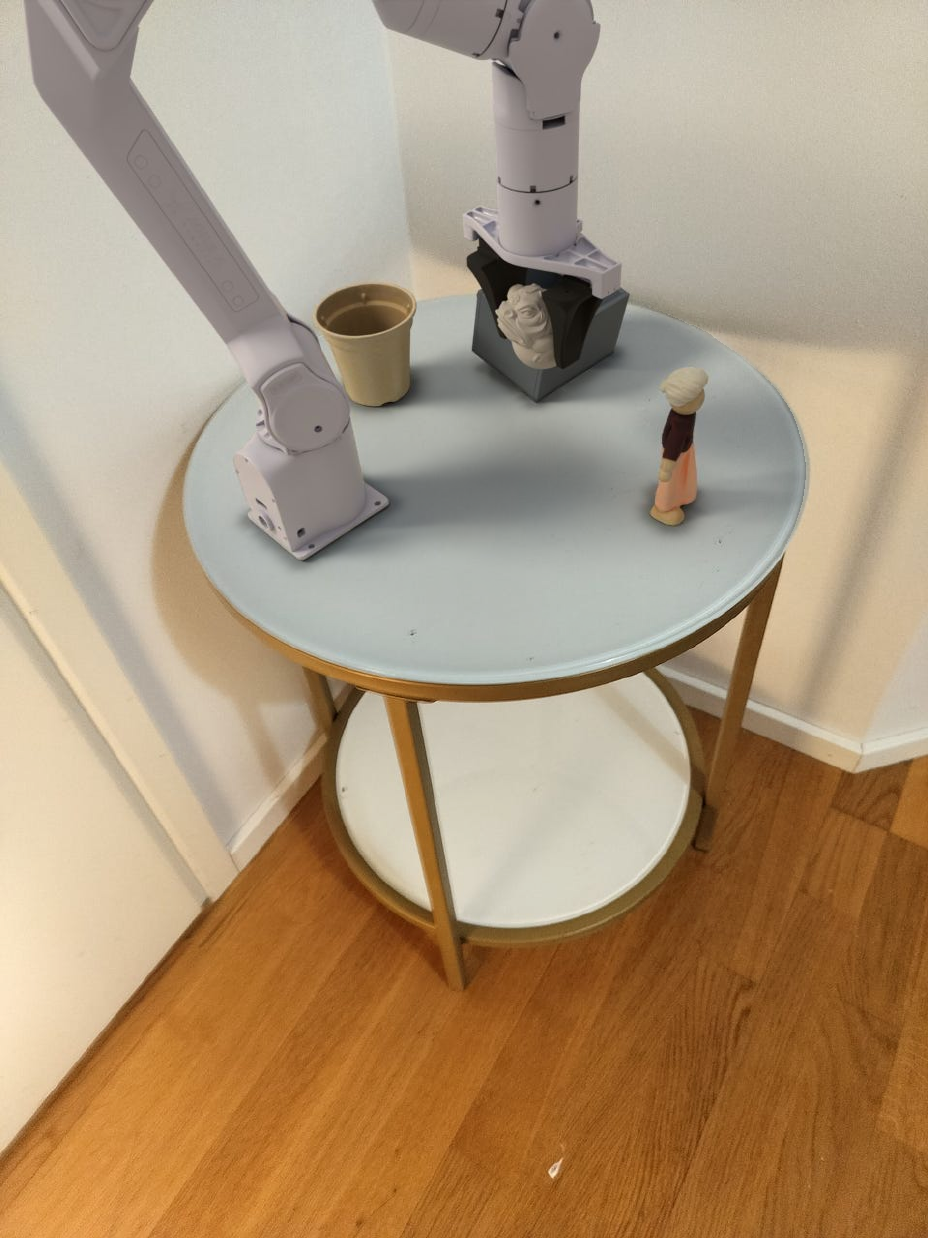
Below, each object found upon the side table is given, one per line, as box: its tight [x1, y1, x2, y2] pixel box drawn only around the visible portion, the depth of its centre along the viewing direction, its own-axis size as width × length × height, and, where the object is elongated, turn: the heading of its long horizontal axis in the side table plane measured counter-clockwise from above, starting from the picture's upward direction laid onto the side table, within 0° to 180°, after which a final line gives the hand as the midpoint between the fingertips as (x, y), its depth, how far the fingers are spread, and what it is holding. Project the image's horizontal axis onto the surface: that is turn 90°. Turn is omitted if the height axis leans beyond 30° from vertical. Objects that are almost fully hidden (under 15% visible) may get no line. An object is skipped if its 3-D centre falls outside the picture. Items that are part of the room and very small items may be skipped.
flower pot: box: [312, 281, 418, 407], centre depth 82 cm, size 9×9×9 cm
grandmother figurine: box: [649, 366, 709, 527], centre depth 66 cm, size 8×4×13 cm, turn 171°
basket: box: [471, 268, 631, 404], centre depth 83 cm, size 11×12×7 cm
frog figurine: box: [495, 284, 556, 369], centre depth 69 cm, size 6×7×7 cm
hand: (539, 347), depth 71 cm, fingers closed on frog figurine, 6 cm apart
